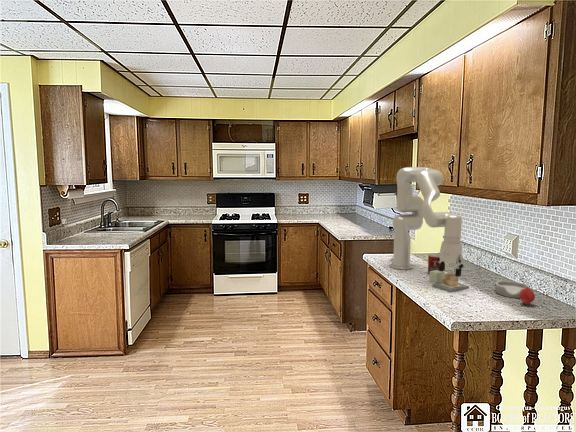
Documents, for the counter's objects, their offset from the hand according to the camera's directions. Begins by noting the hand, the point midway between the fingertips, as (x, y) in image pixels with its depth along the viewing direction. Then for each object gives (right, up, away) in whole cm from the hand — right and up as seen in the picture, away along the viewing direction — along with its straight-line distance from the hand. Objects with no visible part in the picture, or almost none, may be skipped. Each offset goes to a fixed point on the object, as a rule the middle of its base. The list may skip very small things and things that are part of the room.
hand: (449, 273), depth 196 cm
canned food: (+2, -4, +25) cm, 25 cm away
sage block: (-2, -6, +12) cm, 13 cm away
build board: (0, -7, 0) cm, 7 cm away
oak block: (0, -6, 0) cm, 6 cm away
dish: (+25, -8, -10) cm, 28 cm away
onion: (+23, -10, -24) cm, 35 cm away
